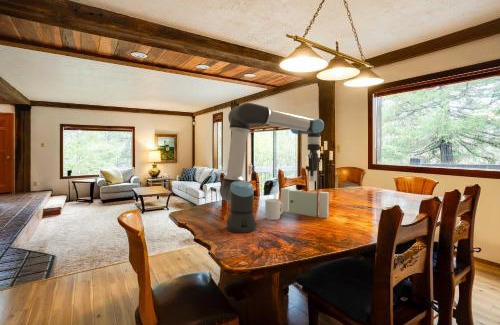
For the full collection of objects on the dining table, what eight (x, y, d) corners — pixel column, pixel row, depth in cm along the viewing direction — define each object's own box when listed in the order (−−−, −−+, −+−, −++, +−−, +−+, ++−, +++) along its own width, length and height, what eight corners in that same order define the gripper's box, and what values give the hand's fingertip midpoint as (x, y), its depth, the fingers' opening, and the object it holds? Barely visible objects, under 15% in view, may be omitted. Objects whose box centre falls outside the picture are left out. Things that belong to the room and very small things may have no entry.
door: (287, 213, 167) (287, 189, 166) (289, 212, 169) (289, 188, 168) (316, 218, 157) (317, 192, 156) (318, 217, 159) (318, 191, 159)
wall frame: (280, 211, 173) (281, 188, 172) (282, 210, 175) (283, 188, 175) (326, 218, 157) (327, 193, 156) (328, 217, 160) (329, 192, 159)
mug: (287, 218, 156) (287, 200, 155) (270, 221, 150) (270, 202, 150) (279, 215, 163) (279, 197, 163) (262, 217, 158) (262, 199, 157)
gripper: (315, 143, 159) (314, 182, 160) (323, 144, 172) (322, 180, 173) (303, 143, 163) (302, 181, 164) (311, 144, 176) (311, 179, 177)
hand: (312, 181), depth 168 cm, fingers open, 2 cm apart
